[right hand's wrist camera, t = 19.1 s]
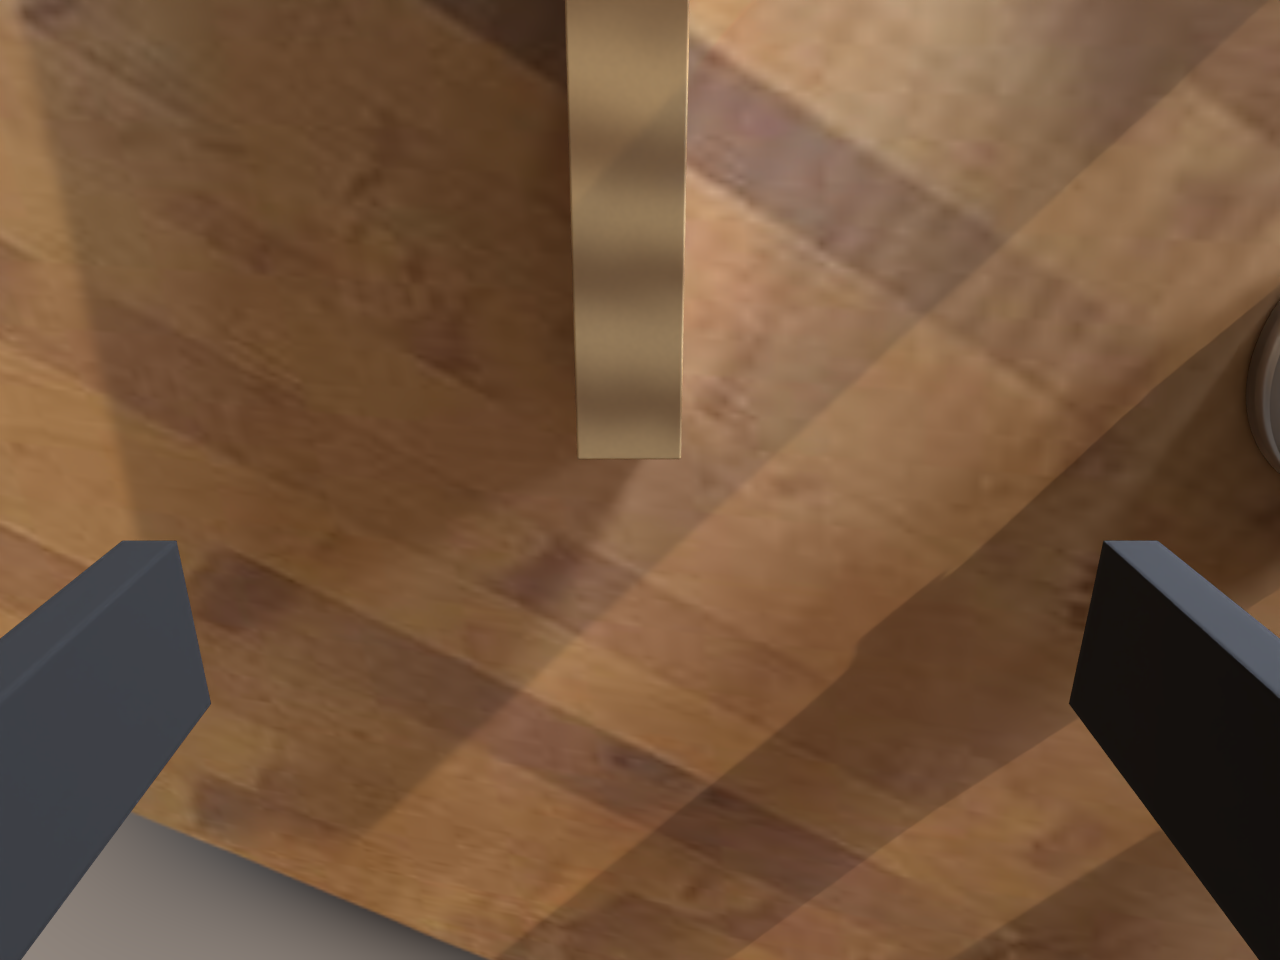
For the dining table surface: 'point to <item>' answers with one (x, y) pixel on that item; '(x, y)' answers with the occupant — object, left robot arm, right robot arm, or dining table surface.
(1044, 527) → the dining table surface
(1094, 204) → the dining table surface
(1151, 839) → the dining table surface
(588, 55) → the post
